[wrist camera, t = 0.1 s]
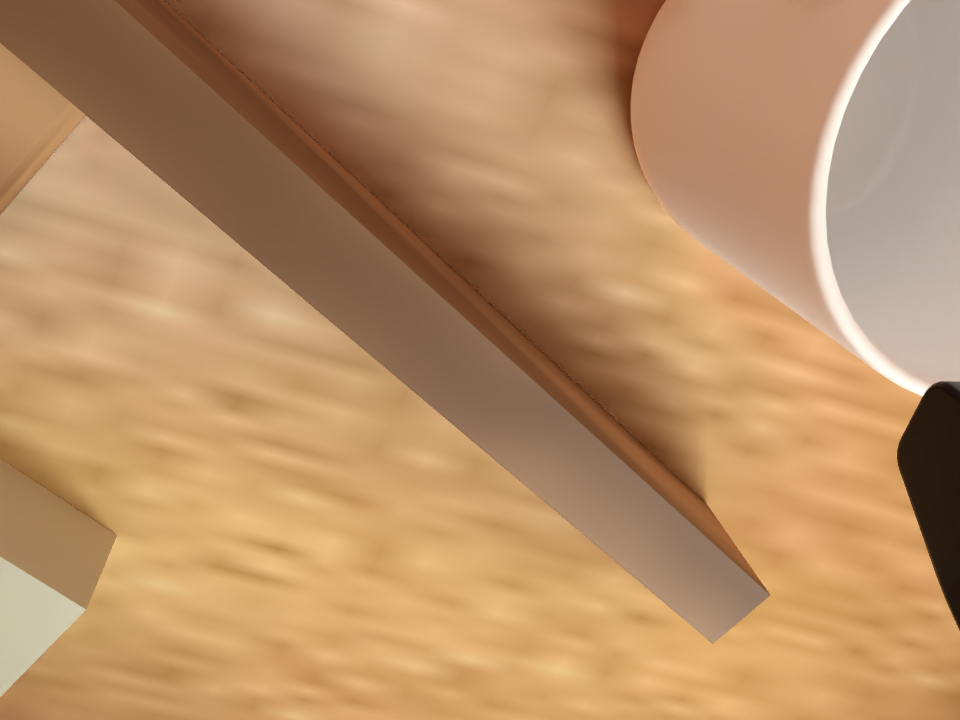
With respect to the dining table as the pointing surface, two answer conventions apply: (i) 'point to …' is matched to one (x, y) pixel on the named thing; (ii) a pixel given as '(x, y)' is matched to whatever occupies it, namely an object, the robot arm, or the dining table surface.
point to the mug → (818, 161)
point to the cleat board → (357, 276)
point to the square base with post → (42, 569)
